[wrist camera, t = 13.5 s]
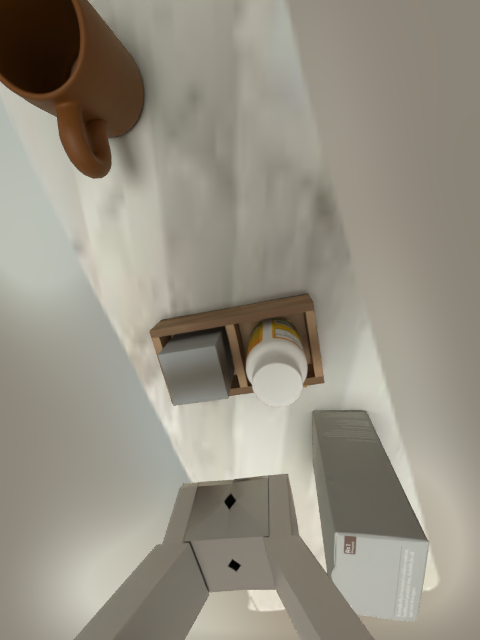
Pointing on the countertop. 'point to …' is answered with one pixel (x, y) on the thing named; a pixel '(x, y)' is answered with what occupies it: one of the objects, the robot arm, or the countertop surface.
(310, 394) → the countertop surface
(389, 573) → the skincare box
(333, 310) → the countertop surface
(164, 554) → the robot arm
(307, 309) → the caddy
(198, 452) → the countertop surface
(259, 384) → the supplement bottle
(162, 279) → the countertop surface
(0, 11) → the mug
